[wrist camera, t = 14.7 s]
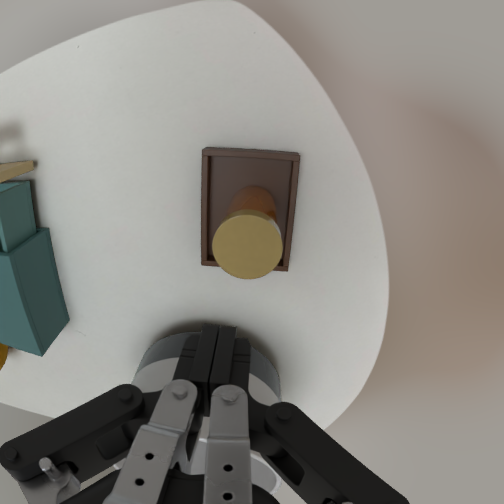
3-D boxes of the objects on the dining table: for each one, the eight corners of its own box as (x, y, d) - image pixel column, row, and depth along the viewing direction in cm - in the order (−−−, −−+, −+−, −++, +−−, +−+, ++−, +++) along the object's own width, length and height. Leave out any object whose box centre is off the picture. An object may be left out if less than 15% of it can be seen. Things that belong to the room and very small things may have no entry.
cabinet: (-9, 225, 36) (-47, 248, 28) (48, 228, 35) (8, 256, 28) (13, 307, 42) (-15, 337, 34) (69, 320, 42) (42, 356, 34)
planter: (147, 394, 47) (116, 484, 31) (147, 301, 39) (92, 408, 23) (262, 418, 48) (259, 513, 32) (296, 332, 40) (308, 452, 24)
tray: (206, 147, 31) (202, 149, 29) (298, 152, 31) (300, 155, 29) (204, 257, 36) (201, 265, 34) (286, 262, 36) (287, 271, 34)
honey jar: (228, 182, 32) (212, 212, 23) (280, 185, 32) (285, 217, 23) (226, 230, 34) (211, 276, 25) (276, 234, 34) (279, 281, 25)
